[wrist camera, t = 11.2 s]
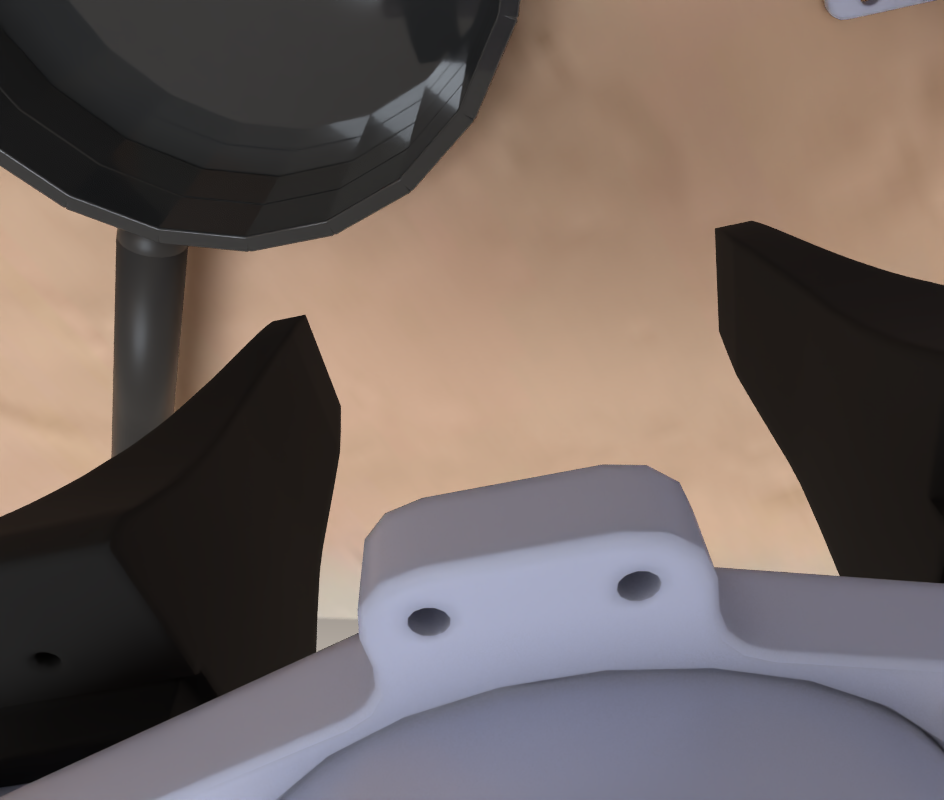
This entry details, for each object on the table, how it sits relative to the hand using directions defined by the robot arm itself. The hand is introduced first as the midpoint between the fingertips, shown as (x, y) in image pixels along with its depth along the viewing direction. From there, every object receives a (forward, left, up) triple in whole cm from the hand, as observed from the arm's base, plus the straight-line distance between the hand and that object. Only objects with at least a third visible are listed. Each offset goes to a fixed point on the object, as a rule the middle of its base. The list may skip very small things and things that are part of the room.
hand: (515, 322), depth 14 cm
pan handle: (+12, +4, -8) cm, 15 cm away
